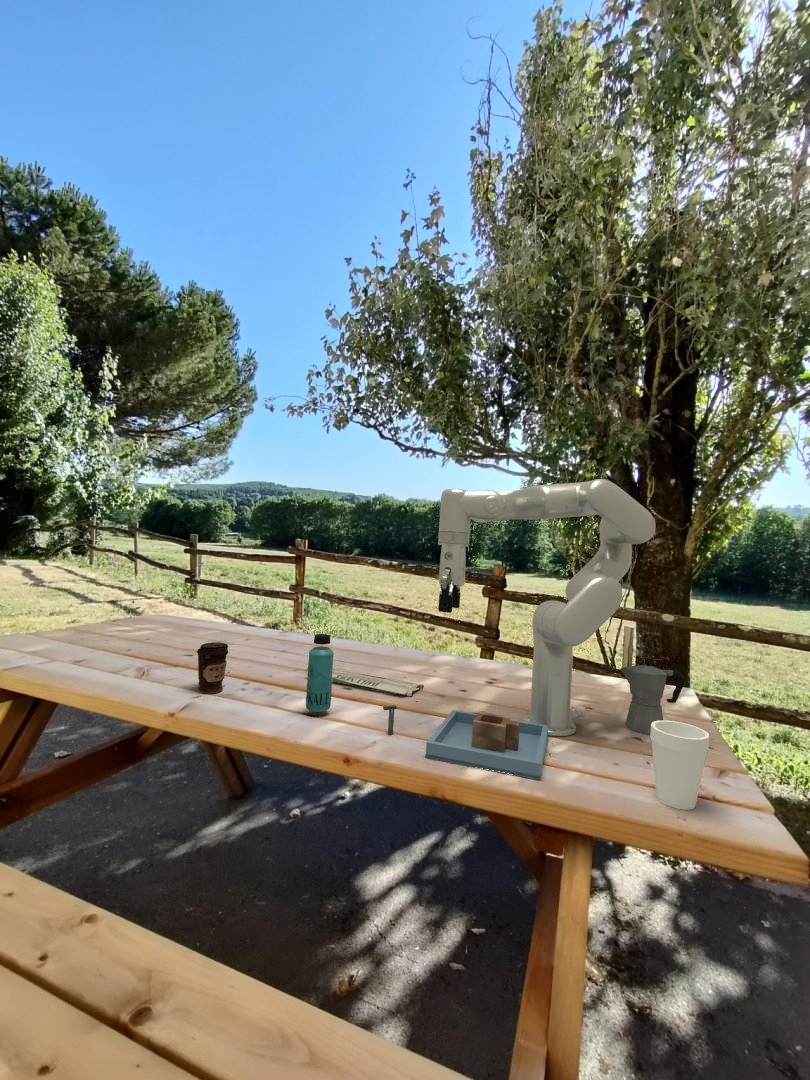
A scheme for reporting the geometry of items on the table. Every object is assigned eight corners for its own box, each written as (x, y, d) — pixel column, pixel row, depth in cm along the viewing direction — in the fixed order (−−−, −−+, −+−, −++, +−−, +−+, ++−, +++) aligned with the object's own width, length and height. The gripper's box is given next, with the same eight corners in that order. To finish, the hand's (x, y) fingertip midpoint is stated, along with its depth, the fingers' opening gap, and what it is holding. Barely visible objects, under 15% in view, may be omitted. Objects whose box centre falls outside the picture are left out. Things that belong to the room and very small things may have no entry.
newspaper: (423, 690, 156) (424, 678, 156) (408, 701, 144) (408, 688, 144) (324, 672, 169) (324, 662, 169) (302, 681, 158) (303, 670, 158)
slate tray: (452, 722, 128) (453, 709, 128) (547, 739, 120) (548, 725, 120) (425, 757, 106) (426, 742, 106) (539, 780, 98) (540, 764, 98)
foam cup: (639, 786, 98) (643, 718, 98) (690, 790, 98) (693, 722, 98) (660, 811, 89) (663, 737, 89) (715, 817, 88) (719, 741, 88)
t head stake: (393, 732, 119) (394, 704, 119) (395, 734, 118) (396, 706, 118) (381, 734, 117) (382, 705, 117) (383, 736, 116) (385, 707, 116)
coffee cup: (233, 691, 143) (236, 644, 143) (208, 697, 136) (211, 649, 136) (213, 684, 148) (216, 640, 148) (188, 691, 141) (190, 644, 141)
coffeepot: (619, 731, 128) (623, 659, 128) (614, 719, 137) (617, 652, 137) (687, 740, 124) (691, 666, 124) (677, 727, 133) (681, 658, 133)
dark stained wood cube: (519, 743, 114) (520, 718, 114) (515, 755, 108) (517, 729, 108) (477, 735, 117) (478, 711, 117) (471, 746, 111) (472, 721, 111)
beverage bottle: (318, 707, 133) (323, 631, 133) (336, 714, 129) (340, 635, 129) (299, 713, 128) (303, 633, 128) (316, 720, 124) (321, 638, 124)
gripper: (462, 540, 116) (457, 615, 116) (474, 541, 132) (470, 607, 132) (430, 538, 118) (425, 612, 118) (445, 539, 134) (441, 604, 134)
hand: (449, 609), depth 125 cm, fingers open, 9 cm apart
